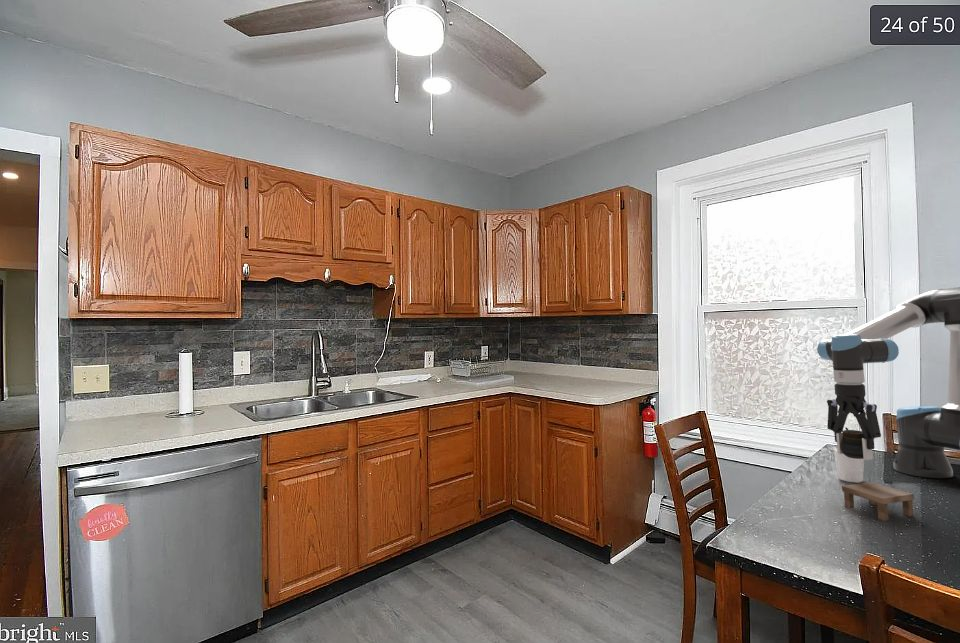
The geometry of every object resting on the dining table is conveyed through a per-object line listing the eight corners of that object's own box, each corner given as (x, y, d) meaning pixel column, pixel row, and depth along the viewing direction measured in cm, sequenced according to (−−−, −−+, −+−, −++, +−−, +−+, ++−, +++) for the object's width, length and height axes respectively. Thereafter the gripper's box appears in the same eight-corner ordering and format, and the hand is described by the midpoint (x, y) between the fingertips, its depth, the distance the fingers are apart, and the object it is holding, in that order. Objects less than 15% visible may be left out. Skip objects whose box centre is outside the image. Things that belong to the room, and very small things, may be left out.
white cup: (871, 483, 151) (869, 453, 151) (844, 483, 153) (842, 453, 153) (856, 476, 159) (854, 447, 159) (831, 475, 160) (829, 447, 161)
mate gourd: (874, 457, 142) (871, 424, 142) (866, 462, 137) (863, 429, 138) (846, 452, 148) (843, 422, 148) (837, 457, 143) (834, 426, 144)
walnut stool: (872, 502, 135) (871, 481, 136) (915, 516, 125) (913, 493, 125) (843, 506, 133) (842, 485, 133) (884, 521, 122) (883, 498, 122)
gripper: (809, 381, 152) (815, 450, 152) (874, 387, 133) (880, 466, 132) (827, 379, 154) (832, 447, 153) (893, 385, 135) (900, 463, 134)
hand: (854, 456), depth 143 cm, fingers closed on mate gourd, 7 cm apart
